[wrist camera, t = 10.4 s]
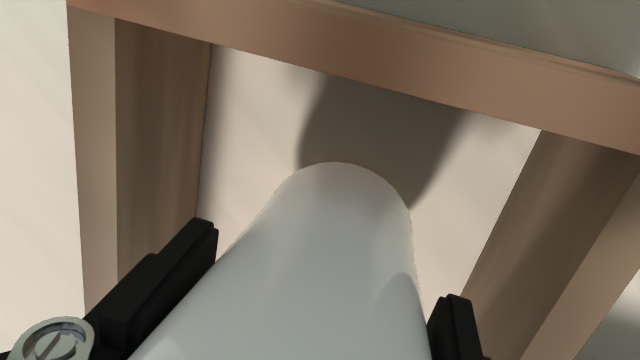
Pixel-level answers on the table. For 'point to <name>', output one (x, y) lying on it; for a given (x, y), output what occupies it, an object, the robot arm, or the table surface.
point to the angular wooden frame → (390, 73)
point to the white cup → (307, 280)
